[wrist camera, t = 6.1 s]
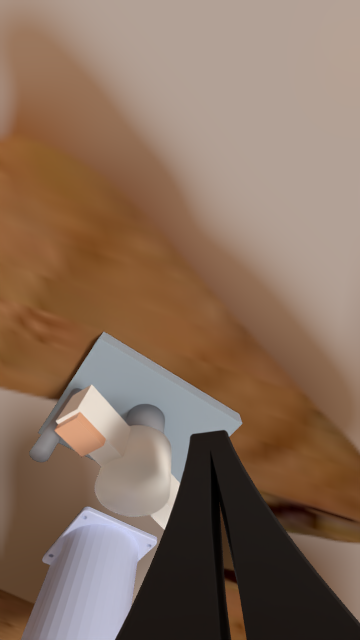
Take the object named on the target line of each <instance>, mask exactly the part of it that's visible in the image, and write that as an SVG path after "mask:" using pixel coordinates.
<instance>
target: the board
mask: <svg viewBox="0 0 360 640" xmlns="http://www.w3.org/2000/svg"><path fill="white" fill-rule="evenodd" d="M90 385H93V386H94V387H95V388H96V389H97V391H98V392H99V393H100V394H101V395H102V396H103V397H104V398H105V400H106V401H107V402H108V403H109V404H110V405H111V406H112V407H113V409H114V410H115V411H116V412H117V413H118V414H119V415H120V416H121V418H122V419H123V420H124V421H125V422H126V423H127V424H128V425H129V426H132V425H144V426H149V427H152V428H155V429H157V430H159V431H160V432H162V433H163V434H164V435H165V436H166V437H167V438H168V440H169V442H170V444H171V447H172V460H171V474H172V475H173V476H174V477H175V478H176V479H177V481H178V482H179V483H180V482H181V478H182V475H183V471H184V467H185V463H186V459H187V454H188V448H189V442H190V436H191V435H192V434H196V433H204V432H211V431H219V430H225V431H227V432H228V435H229V436H230V435H231V434H232V433H233V432H234V431H235V430H236V429H237V428H238V427H239V426H240V425H241V424H242V421H241V418H240V415H239V414H238V413H237V412H235V411H233V410H232V409H230V408H228V407H227V406H225V405H223V404H222V403H220V402H218V401H217V400H215V399H214V398H212V397H210V396H209V395H207V394H205V393H204V392H202V391H200V390H199V389H197V388H195V387H194V386H192V385H191V384H189V383H187V382H186V381H184V380H182V379H181V378H179V377H177V376H176V375H174V374H173V373H171V372H169V371H168V370H166V369H164V368H163V367H161V366H159V365H158V364H156V363H154V362H153V361H151V360H150V359H148V358H146V357H145V356H143V355H141V354H140V353H138V352H136V351H135V350H133V349H131V348H130V347H128V346H127V345H125V344H123V343H122V342H120V341H118V340H117V339H115V338H113V337H112V336H110V335H109V334H107V333H105V332H103V333H102V335H101V336H100V337H99V339H98V340H97V342H96V343H95V345H94V346H93V348H92V350H91V351H90V353H89V354H88V356H87V357H86V359H85V360H84V362H83V364H82V365H81V367H80V368H79V370H78V371H77V373H76V374H75V376H74V377H73V379H72V381H71V382H70V384H69V385H68V387H67V388H66V390H65V391H64V393H63V395H62V396H61V398H60V399H59V401H58V402H57V404H56V405H55V407H54V409H53V410H52V412H51V413H50V415H49V416H48V418H47V419H46V421H45V423H44V424H43V426H42V427H41V429H40V430H39V432H38V433H39V434H41V436H40V437H39V439H38V440H37V442H36V443H35V445H34V446H33V447H32V449H31V450H30V453H29V454H30V457H31V458H32V459H33V460H35V461H37V462H45V461H47V460H48V459H49V457H50V455H51V454H52V452H53V450H54V448H55V447H56V445H57V444H58V443H60V444H62V445H64V446H66V447H68V448H70V449H72V450H74V449H73V448H72V447H71V446H70V445H69V444H68V443H67V442H66V441H65V440H64V439H63V438H61V437H60V436H59V435H58V434H57V433H56V432H55V431H54V430H55V428H56V427H57V425H58V423H57V422H56V420H57V418H58V417H59V415H60V414H61V412H62V411H63V409H64V408H65V406H66V405H67V403H68V402H69V400H70V399H71V397H72V396H73V395H75V394H76V393H78V392H80V391H81V390H83V389H85V388H87V387H88V386H90ZM74 451H75V450H74ZM85 456H86V457H88V458H91V459H92V460H94V459H93V458H92V457H91V456H90V455H89V454H87V455H85ZM94 461H95V460H94Z"/></svg>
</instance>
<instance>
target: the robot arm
mask: <svg viewBox="0 0 360 640" xmlns="http://www.w3.org/2000/svg"><path fill="white" fill-rule="evenodd" d="M219 502H220V504H219ZM220 507H221V511H222V516H223V521H224V525H225V529H226V534H227V538H228V543H229V547H230V552H231V557H232V561H233V566H234V570H235V575H236V579H237V584H238V589H239V594H240V600H241V606H242V612H243V619H244V625H245V631H246V637H247V640H360V623H359V622H358V620H357V619H356V618H355V617H354V616H353V615H352V613H351V612H350V611H349V610H348V609H347V607H346V606H345V605H344V604H343V603H342V601H341V600H340V599H339V598H338V597H337V596H336V594H335V593H334V592H333V591H332V589H331V588H329V586H328V585H327V583H325V581H324V580H323V579H322V578H321V576H320V575H319V574H318V573H317V572H316V570H315V569H314V568H313V566H312V565H311V564H310V563H309V561H308V560H307V559H306V557H305V556H304V555H303V553H302V552H301V551H300V550H299V548H298V547H297V546H296V544H295V543H294V542H293V540H292V539H291V538H290V536H289V535H288V534H287V532H286V531H285V529H284V528H283V527H282V525H281V524H280V523H279V521H278V520H277V518H276V517H275V515H274V514H273V512H272V511H271V510H270V508H269V507H268V505H267V504H266V502H265V501H264V499H263V498H262V496H261V494H260V493H259V491H258V490H257V488H256V487H255V485H254V483H253V482H252V480H251V478H250V477H249V475H248V473H247V472H246V470H245V468H244V466H243V465H242V463H241V461H240V459H239V457H238V455H237V453H236V451H235V449H234V447H233V445H232V443H231V440H230V438H229V435H228V432H227V431H225V430H219V431H211V432H204V433H196V434H192V435H191V436H190V442H189V448H188V454H187V459H186V463H185V467H184V471H183V475H182V478H181V482H180V485H179V489H178V492H177V496H176V499H175V502H174V505H173V508H172V510H171V513H170V516H169V519H168V522H167V525H166V528H165V530H164V533H163V536H162V538H161V541H160V544H159V546H158V548H157V551H156V553H155V556H154V558H153V560H152V563H151V565H150V567H149V569H148V572H147V574H146V576H145V578H144V581H143V583H142V585H141V587H140V590H139V592H138V594H137V596H136V598H135V600H134V603H133V605H132V597H133V590H134V582H135V575H136V567H137V562H138V561H139V560H140V559H141V558H142V557H143V556H144V555H145V554H146V553H147V552H148V551H149V550H151V549H152V548H153V547H154V546H155V545H156V543H157V538H156V536H154V535H152V534H149V533H147V532H145V531H143V530H140V529H138V528H136V527H134V526H131V525H129V524H127V523H125V522H122V521H120V520H118V519H116V518H114V517H111V516H109V515H107V514H105V513H102V512H100V511H98V510H96V509H94V508H91V507H84V508H83V509H82V510H81V511H80V513H79V514H78V515H77V516H76V517H75V519H74V520H73V521H72V522H71V523H70V525H69V526H68V527H67V528H66V530H64V532H63V533H62V534H61V535H60V537H59V538H58V539H57V540H56V541H55V542H54V544H53V545H52V546H51V547H50V549H49V550H48V551H47V552H46V553H45V554H44V557H43V559H42V561H43V562H44V563H46V564H49V565H50V567H49V570H48V572H47V575H46V577H45V580H44V582H43V585H42V587H41V590H40V592H39V595H38V597H37V600H36V602H35V605H34V607H33V610H32V612H31V615H30V617H29V620H28V623H27V625H26V628H25V630H24V633H23V635H22V638H21V640H231V635H230V627H229V619H228V611H227V603H226V592H225V581H224V566H223V550H222V535H221V520H220ZM131 605H132V607H131Z"/></svg>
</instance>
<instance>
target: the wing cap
mask: <svg viewBox="0 0 360 640" xmlns="http://www.w3.org/2000/svg"><path fill="white" fill-rule="evenodd" d="M56 422H57V423H58V425H57V427H56V428H55V430H54V431H55V432H56V433H57V434H58V435H59V436H60V437H61V438H63V439H64V440H65V441H66V442H67V443H68V444H69V445H70V446H71V447H72V448H73V449H74V450H75V451H76V452H77V453H78V454H79V455H80V456H81V457H83V456H85V455H87V454H89V455H90V456H91V457H92V458H93V459H94V460H95V461H96V462H97V463H98V464H99V465H100V466H101V468H100V471H99V474H98V476H97V479H96V482H95V494H96V497H97V499H98V500H99V502H100V503H101V504H102V505H103V506H104V507H106V508H107V509H108V510H110V511H112V512H114V513H117V514H120V515H124V516H130V517H141V516H146V515H150V516H151V517H152V518H153V519H154V520H155V521H156V522H157V523H158V524H159V525H160V526H161V527H162V528H163V529H164V530H165V528H166V525H167V522H168V519H169V516H170V513H171V510H172V508H173V505H174V502H175V499H176V496H177V492H178V489H179V485H180V483H179V482H178V481H177V479H176V478H175V477H174V476H173V475H172V474H171V460H172V447H171V444H170V442H169V440H168V438H167V437H166V436H165V435H164V434H163V433H162V432H160V431H159V430H157V429H155V428H152V427H149V426H144V425H132V426H129V425H128V424H127V423H126V422H125V421H124V420H123V419H122V418H121V416H120V415H119V414H118V413H117V412H116V411H115V410H114V409H113V407H112V406H111V405H110V404H109V403H108V402H107V401H106V400H105V398H104V397H103V396H102V395H101V394H100V393H99V392H98V391H97V389H96V388H95V387H94V386H93V385H90V386H88V387H87V388H85V389H83V390H81V391H80V392H78V393H76V394H75V395H73V396H72V397H71V399H70V400H69V402H68V403H67V405H66V406H65V408H64V409H63V411H62V412H61V414H60V415H59V417H58V418H57V420H56Z"/></svg>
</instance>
